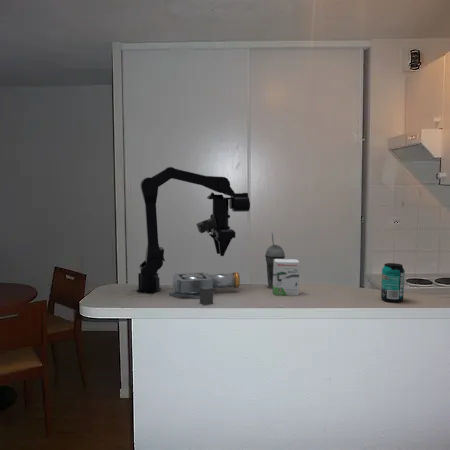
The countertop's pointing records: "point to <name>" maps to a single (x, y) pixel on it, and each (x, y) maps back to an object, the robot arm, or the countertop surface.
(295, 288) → the ink box
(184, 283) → the flanged pipe fitting
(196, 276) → the duct stub
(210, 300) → the block
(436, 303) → the countertop surface
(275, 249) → the beverage cup
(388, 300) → the beverage can
